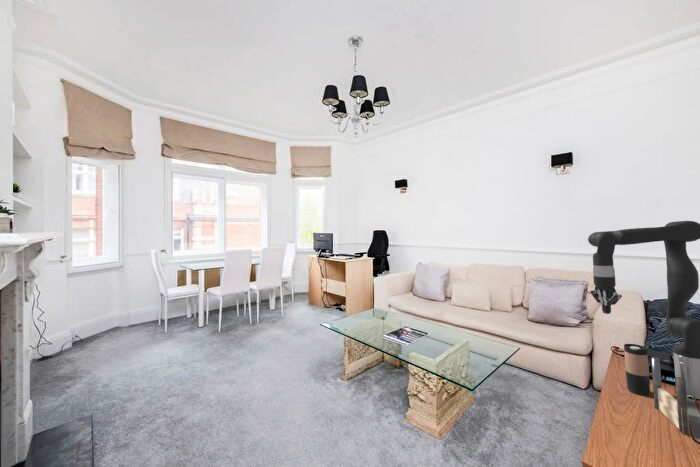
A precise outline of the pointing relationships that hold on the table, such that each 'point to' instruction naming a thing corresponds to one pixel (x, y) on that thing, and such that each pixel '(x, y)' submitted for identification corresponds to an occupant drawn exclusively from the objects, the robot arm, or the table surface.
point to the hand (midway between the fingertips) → (606, 313)
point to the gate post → (656, 379)
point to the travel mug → (637, 369)
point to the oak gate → (675, 405)
